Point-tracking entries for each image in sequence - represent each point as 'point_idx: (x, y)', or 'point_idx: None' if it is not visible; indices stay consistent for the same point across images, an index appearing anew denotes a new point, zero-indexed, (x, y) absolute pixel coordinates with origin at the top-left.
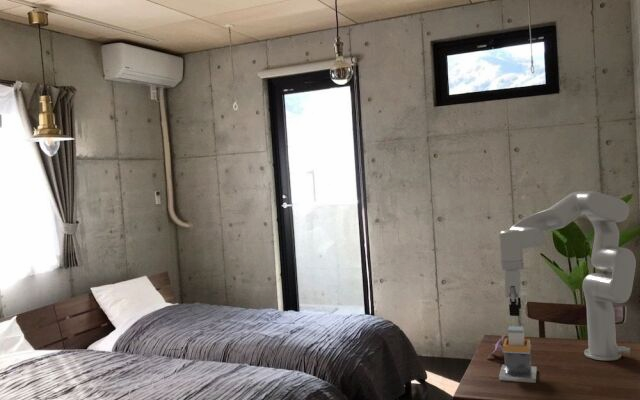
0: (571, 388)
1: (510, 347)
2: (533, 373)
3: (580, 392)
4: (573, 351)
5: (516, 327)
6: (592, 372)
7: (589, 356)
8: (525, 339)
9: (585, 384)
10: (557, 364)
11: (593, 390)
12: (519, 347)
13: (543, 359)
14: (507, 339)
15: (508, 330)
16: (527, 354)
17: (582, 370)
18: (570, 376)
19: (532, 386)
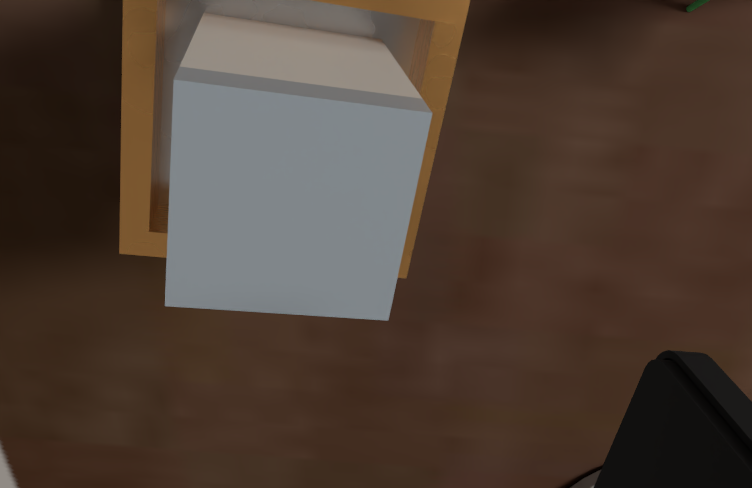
0: (70, 353)
1: (126, 36)
2: None
3: (12, 390)
4: None
5: (340, 225)
6: (363, 466)
7: (592, 480)
8: (412, 236)
9: (158, 423)
10: (507, 317)
11: (66, 449)
12: (121, 149)
13: (614, 246)
14: (434, 26)
15: (174, 84)
16: None
17: (395, 427)
18: (288, 365)
19: (44, 124)
